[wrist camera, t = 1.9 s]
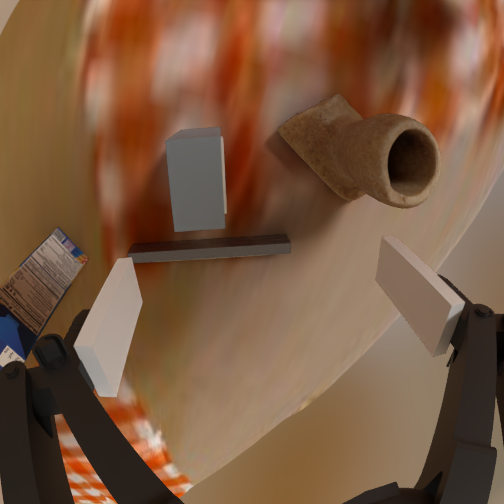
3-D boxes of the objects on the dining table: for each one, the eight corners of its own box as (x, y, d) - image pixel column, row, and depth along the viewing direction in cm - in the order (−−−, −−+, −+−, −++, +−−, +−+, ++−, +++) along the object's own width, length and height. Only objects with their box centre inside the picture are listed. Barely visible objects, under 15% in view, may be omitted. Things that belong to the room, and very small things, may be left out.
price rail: (132, 244, 44) (127, 253, 41) (286, 234, 46) (290, 243, 43) (134, 255, 45) (129, 265, 42) (286, 245, 46) (290, 254, 44)
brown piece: (400, 154, 42) (466, 182, 28) (343, 207, 45) (392, 255, 31) (337, 71, 36) (394, 61, 22) (272, 129, 39) (300, 143, 25)
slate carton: (180, 129, 38) (165, 140, 27) (222, 126, 38) (223, 135, 27) (186, 197, 42) (174, 231, 31) (225, 194, 42) (227, 228, 31)
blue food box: (89, 258, 44) (26, 359, 24) (54, 295, 46) (-2, 391, 27) (58, 226, 41) (-23, 313, 22) (27, 267, 44) (-42, 355, 24)
